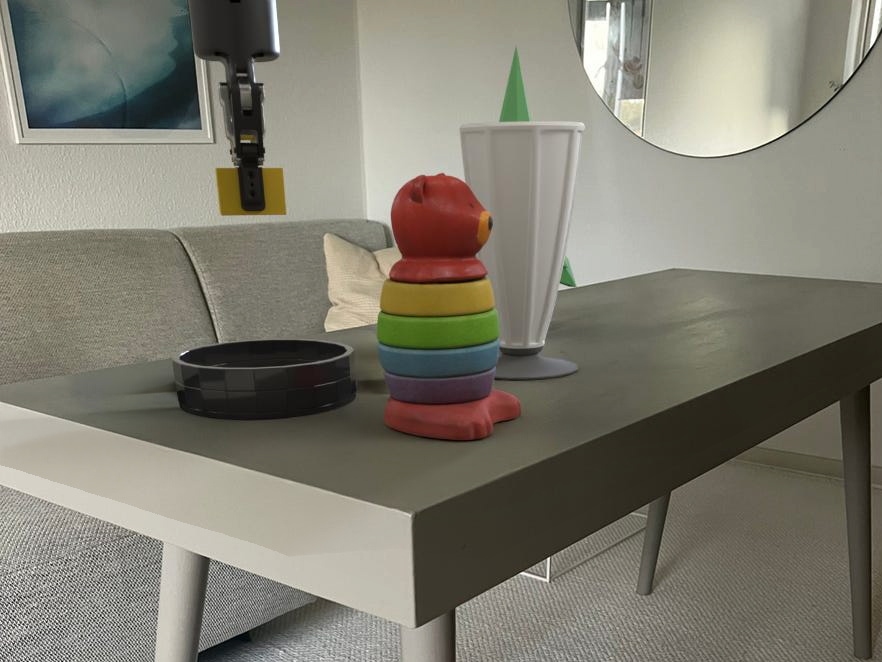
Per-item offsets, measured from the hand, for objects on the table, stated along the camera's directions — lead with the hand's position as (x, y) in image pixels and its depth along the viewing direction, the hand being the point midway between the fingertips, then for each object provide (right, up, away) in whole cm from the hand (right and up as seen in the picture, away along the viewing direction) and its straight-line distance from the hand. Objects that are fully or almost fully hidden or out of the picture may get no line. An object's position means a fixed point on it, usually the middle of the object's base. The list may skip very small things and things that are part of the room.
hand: (252, 209), depth 94 cm
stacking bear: (+19, -24, -16) cm, 34 cm away
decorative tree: (+26, -4, +26) cm, 37 cm away
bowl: (+3, -20, -7) cm, 21 cm away
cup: (+26, -14, +4) cm, 30 cm away
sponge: (0, 0, 0) cm, 0 cm away
